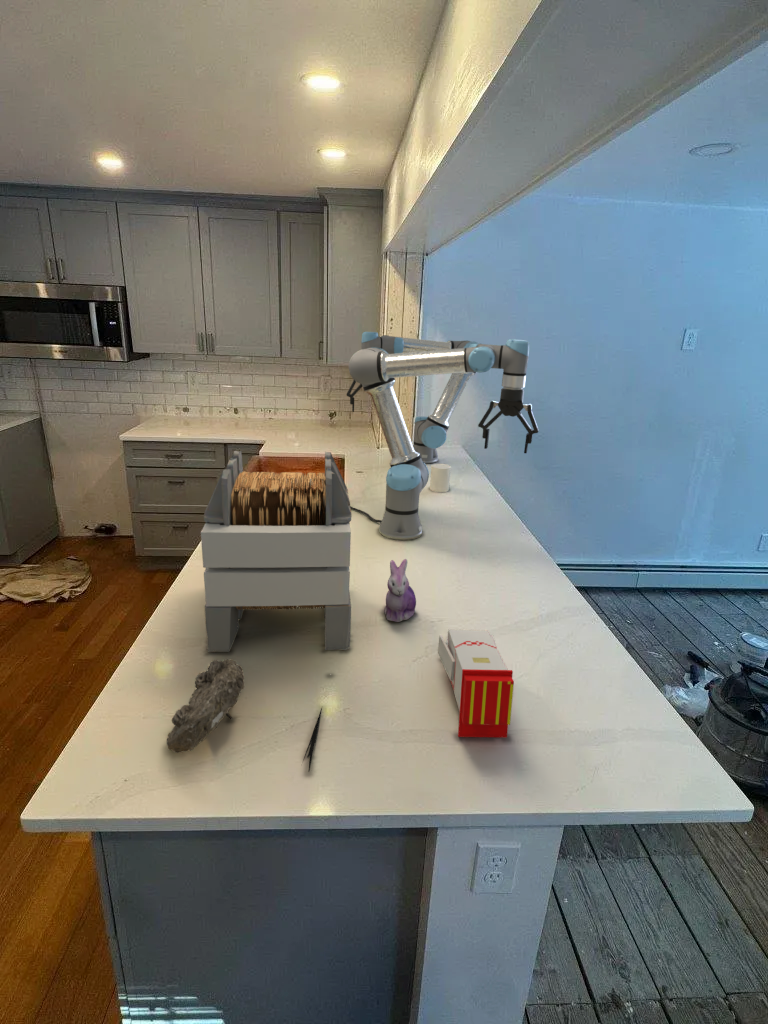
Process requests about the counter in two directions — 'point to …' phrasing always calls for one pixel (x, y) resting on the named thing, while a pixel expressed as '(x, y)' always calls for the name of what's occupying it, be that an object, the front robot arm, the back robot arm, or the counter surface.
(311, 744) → the feather
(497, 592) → the counter surface
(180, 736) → the fossil
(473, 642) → the toy
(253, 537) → the transformer
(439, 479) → the canister
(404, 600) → the figurine
